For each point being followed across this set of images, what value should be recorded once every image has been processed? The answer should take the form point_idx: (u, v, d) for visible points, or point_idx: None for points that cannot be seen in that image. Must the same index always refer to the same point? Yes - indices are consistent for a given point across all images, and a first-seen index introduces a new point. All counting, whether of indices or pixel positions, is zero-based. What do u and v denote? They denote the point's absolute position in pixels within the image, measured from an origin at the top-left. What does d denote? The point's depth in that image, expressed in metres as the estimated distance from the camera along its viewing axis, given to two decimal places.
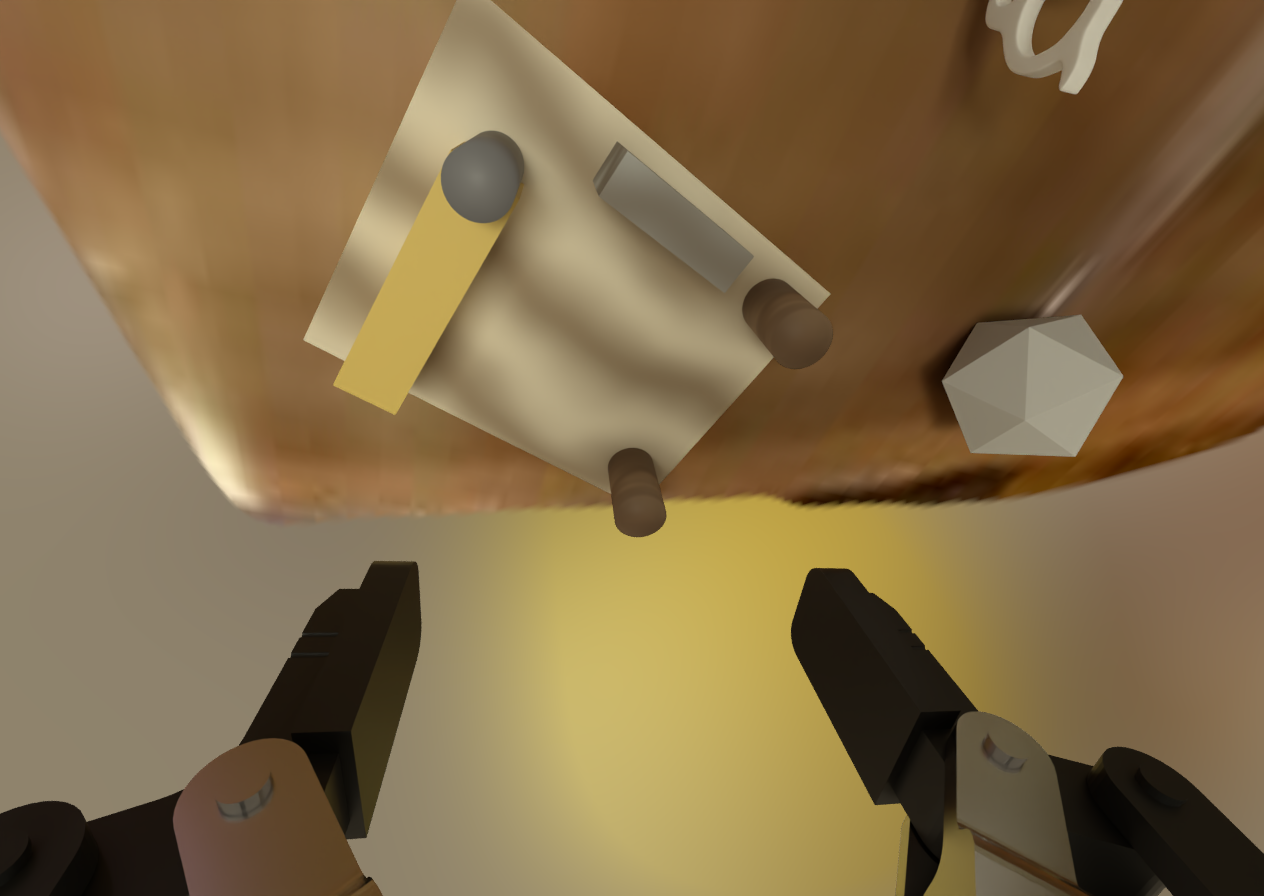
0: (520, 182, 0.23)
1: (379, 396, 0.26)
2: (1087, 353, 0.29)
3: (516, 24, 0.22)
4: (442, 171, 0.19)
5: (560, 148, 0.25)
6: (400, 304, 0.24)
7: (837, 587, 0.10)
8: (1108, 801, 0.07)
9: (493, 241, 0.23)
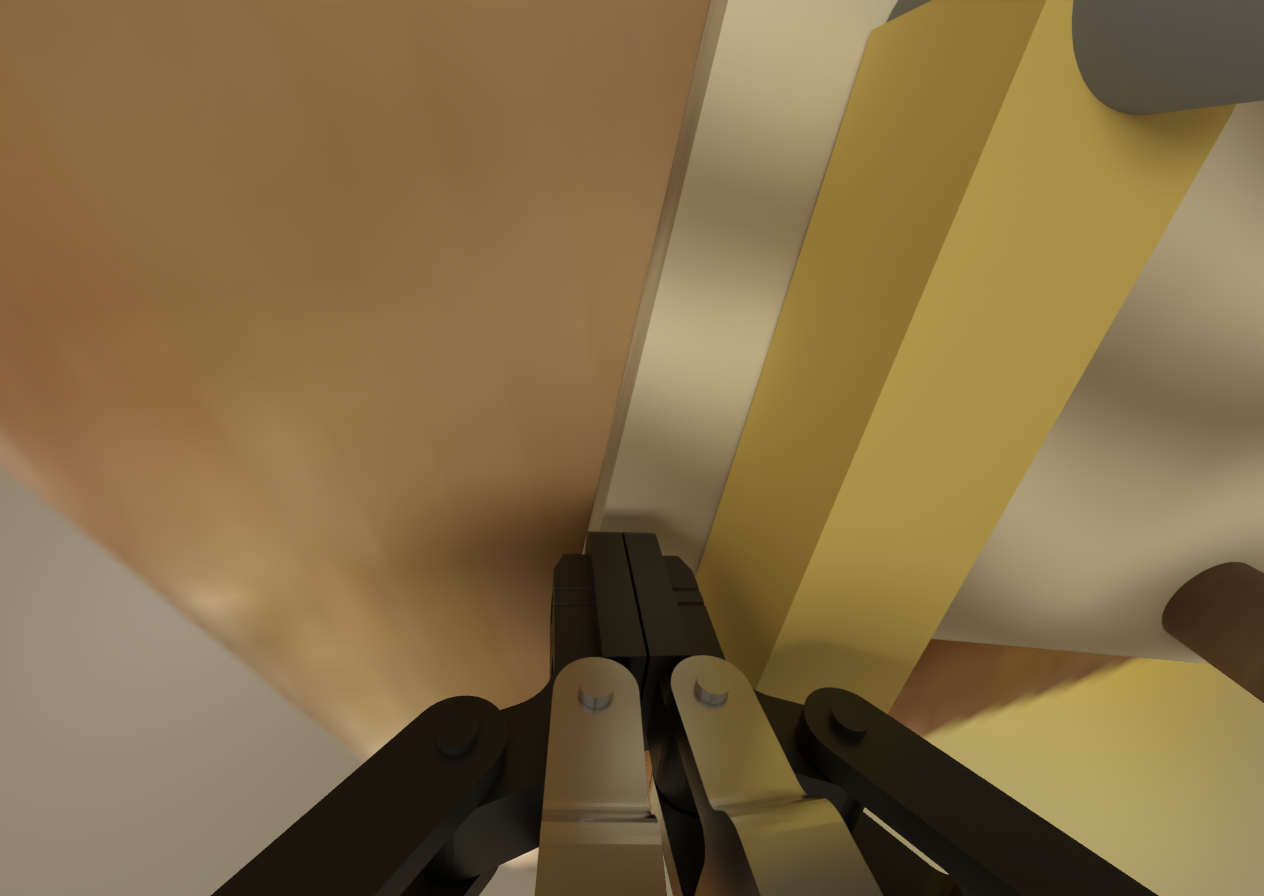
0: None
1: None
2: None
3: None
4: None
5: None
6: (894, 497, 0.08)
7: (631, 548, 0.11)
8: (823, 762, 0.07)
9: (1174, 206, 0.07)
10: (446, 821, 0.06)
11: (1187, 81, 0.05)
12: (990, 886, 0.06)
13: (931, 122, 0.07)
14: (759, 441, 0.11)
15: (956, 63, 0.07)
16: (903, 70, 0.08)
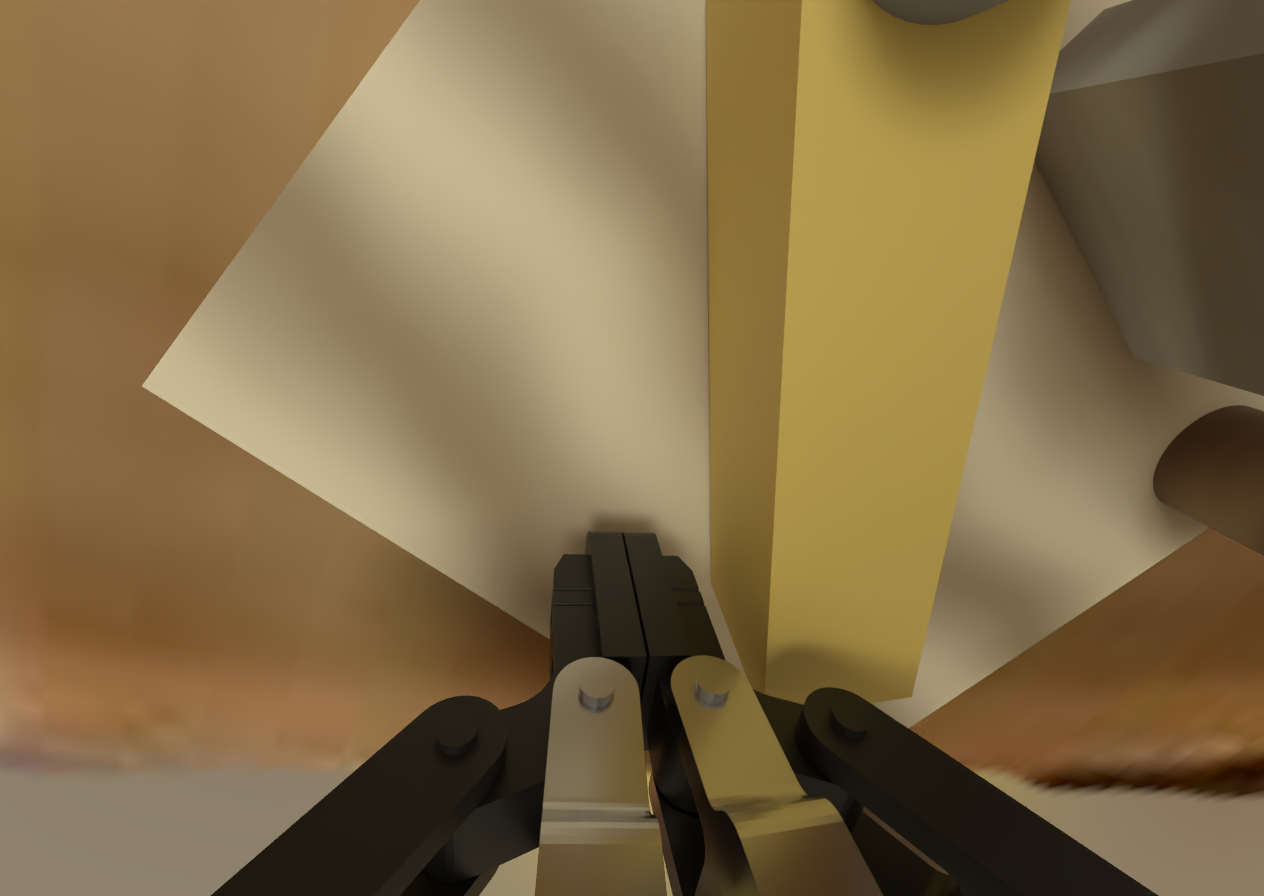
0: None
1: (865, 684, 0.10)
2: None
3: None
4: None
5: None
6: (836, 473, 0.08)
7: (631, 548, 0.11)
8: (823, 762, 0.07)
9: (1043, 97, 0.06)
10: (446, 821, 0.06)
11: None
12: (990, 886, 0.06)
13: (759, 90, 0.07)
14: (721, 433, 0.11)
15: (762, 23, 0.07)
16: (732, 36, 0.08)
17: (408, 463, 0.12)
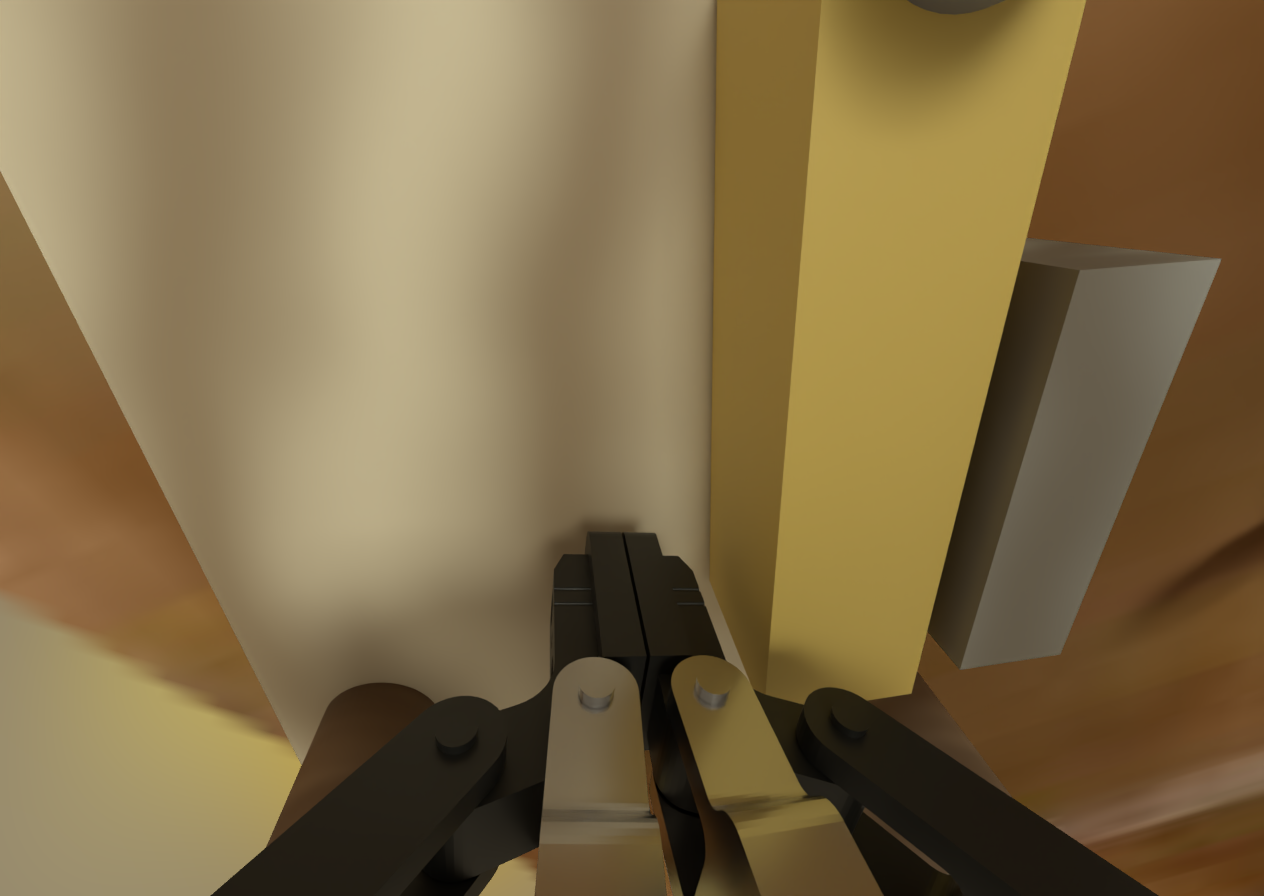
0: None
1: (865, 680, 0.10)
2: None
3: None
4: None
5: None
6: (844, 466, 0.08)
7: (632, 548, 0.11)
8: (823, 762, 0.07)
9: (1058, 91, 0.06)
10: (446, 820, 0.06)
11: None
12: (990, 886, 0.06)
13: (773, 78, 0.07)
14: (724, 428, 0.11)
15: (778, 12, 0.07)
16: (745, 26, 0.08)
17: (84, 54, 0.08)
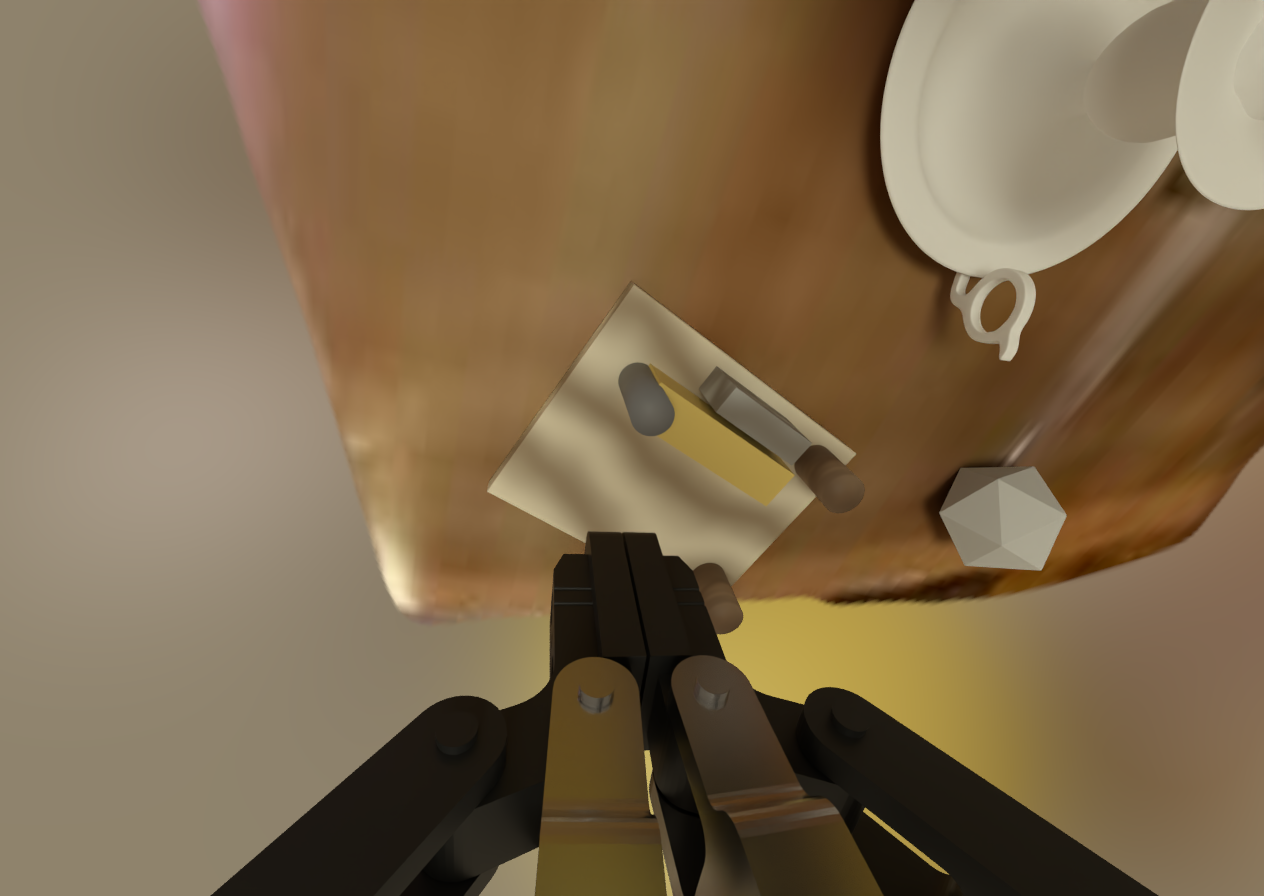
0: (649, 372, 0.35)
1: (779, 482, 0.38)
2: (1040, 498, 0.41)
3: (661, 306, 0.35)
4: (644, 434, 0.32)
5: (680, 370, 0.37)
6: (719, 460, 0.36)
7: (632, 548, 0.11)
8: (823, 762, 0.07)
9: (685, 400, 0.34)
10: (445, 820, 0.06)
11: None
12: (990, 886, 0.06)
13: None
14: None
15: None
16: None
17: (554, 501, 0.40)
